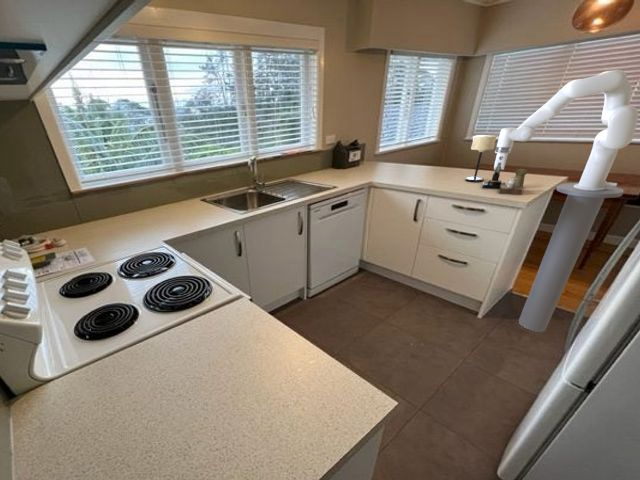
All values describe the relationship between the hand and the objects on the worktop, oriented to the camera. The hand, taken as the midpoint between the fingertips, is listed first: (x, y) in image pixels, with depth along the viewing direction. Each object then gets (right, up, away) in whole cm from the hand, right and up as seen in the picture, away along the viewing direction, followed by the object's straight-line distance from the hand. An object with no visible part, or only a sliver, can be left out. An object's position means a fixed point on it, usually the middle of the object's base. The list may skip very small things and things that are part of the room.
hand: (494, 180), depth 186 cm
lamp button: (0, -2, +1) cm, 2 cm away
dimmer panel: (+1, -10, -10) cm, 14 cm away
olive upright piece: (+11, -5, -3) cm, 13 cm away
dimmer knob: (0, -7, -11) cm, 13 cm away
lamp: (+1, +5, +19) cm, 20 cm away
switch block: (0, -4, +2) cm, 4 cm away
